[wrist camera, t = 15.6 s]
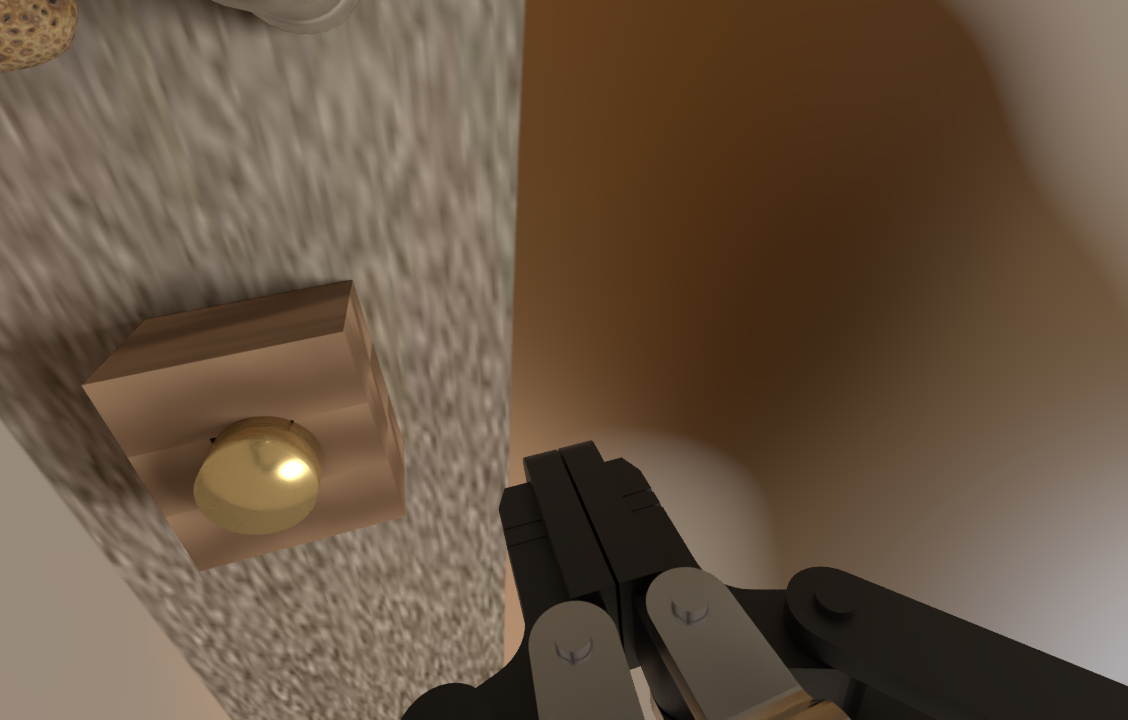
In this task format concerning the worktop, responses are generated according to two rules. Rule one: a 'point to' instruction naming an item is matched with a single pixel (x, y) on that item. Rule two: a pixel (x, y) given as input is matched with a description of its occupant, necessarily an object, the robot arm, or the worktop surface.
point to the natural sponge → (35, 31)
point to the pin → (260, 476)
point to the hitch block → (256, 410)
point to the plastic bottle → (297, 13)
